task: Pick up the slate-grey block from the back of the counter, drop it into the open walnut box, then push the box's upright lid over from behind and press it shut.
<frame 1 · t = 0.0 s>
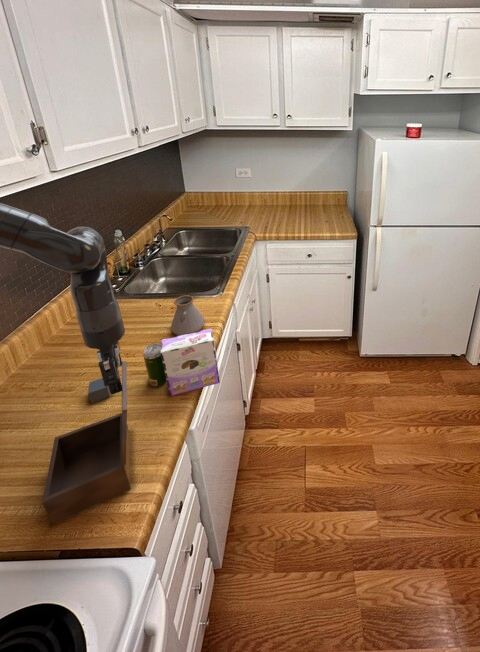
hand: (117, 378, 76), 19 cm above the counter, tool pointing down, fingers open, 8 cm apart
block: (101, 396, 94), on the counter
beer can: (160, 381, 99), on the counter
box: (96, 475, 74), on the counter
coffee pot: (188, 339, 116), on the counter
lid: (124, 410, 72), point 15 cm above the counter, hinge at 100.9°, touching gripper
candy box: (195, 384, 98), on the counter
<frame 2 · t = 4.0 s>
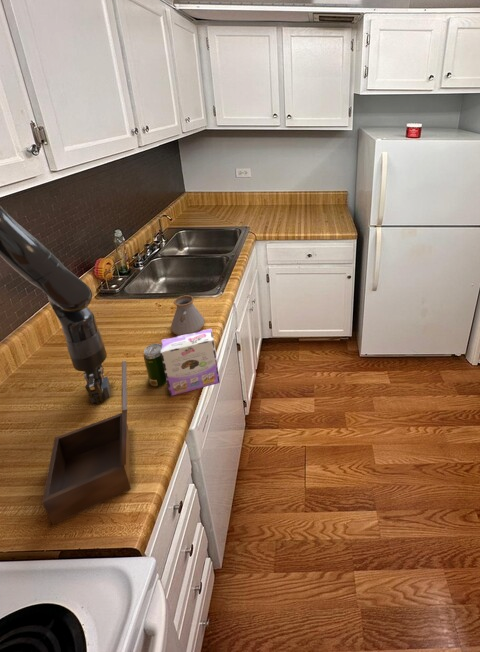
hand: (101, 395, 93), 0 cm above the counter, tool pointing down, fingers closed on block, 4 cm apart
block: (101, 396, 94), on the counter, touching gripper
lid: (124, 410, 72), point 15 cm above the counter, hinge at 100.9°
everything else where it was.
when the fingers open (10 cm above the counter, at t = 11.5 s): block drops 9 cm, resting on box.
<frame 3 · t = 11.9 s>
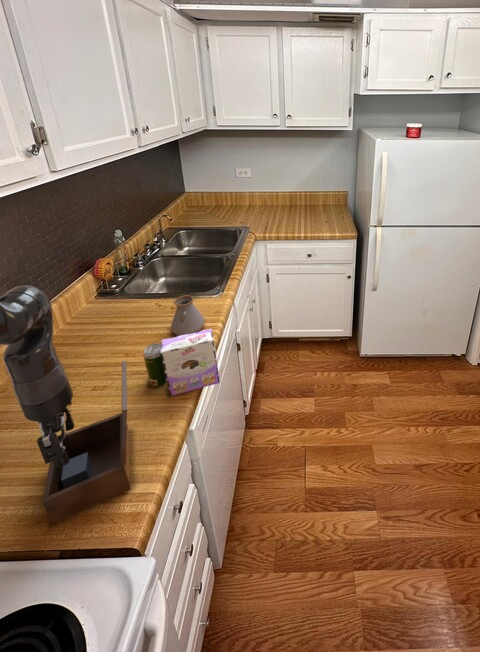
hand: (66, 446, 68), 12 cm above the counter, tool pointing down, fingers open, 8 cm apart
block: (79, 479, 72), point 1 cm above the counter, touching box
everything else where it was.
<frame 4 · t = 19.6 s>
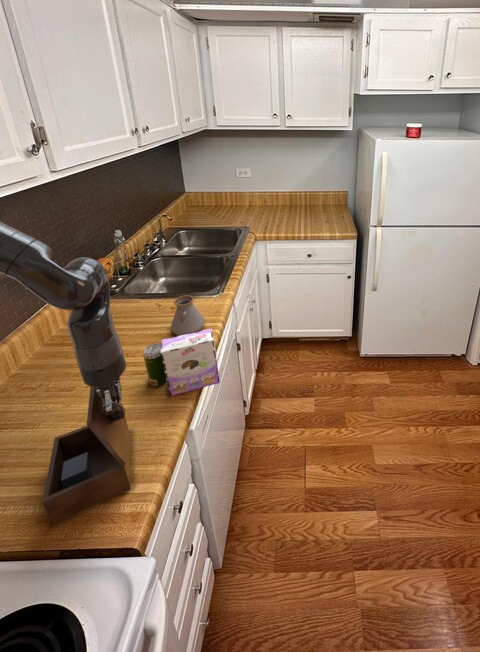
hand: (119, 417, 72), 14 cm above the counter, tool pointing down, fingers closed
lid: (108, 416, 71), point 15 cm above the counter, hinge at 77.2°
everything else where it was.
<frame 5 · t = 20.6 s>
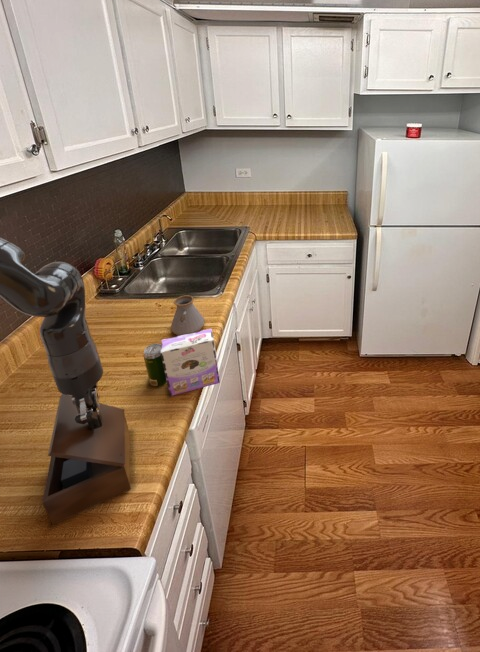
hand: (96, 425, 70), 14 cm above the counter, tool pointing down, fingers closed
lid: (91, 429, 70), point 13 cm above the counter, hinge at 46.2°, touching gripper
everything else where it was.
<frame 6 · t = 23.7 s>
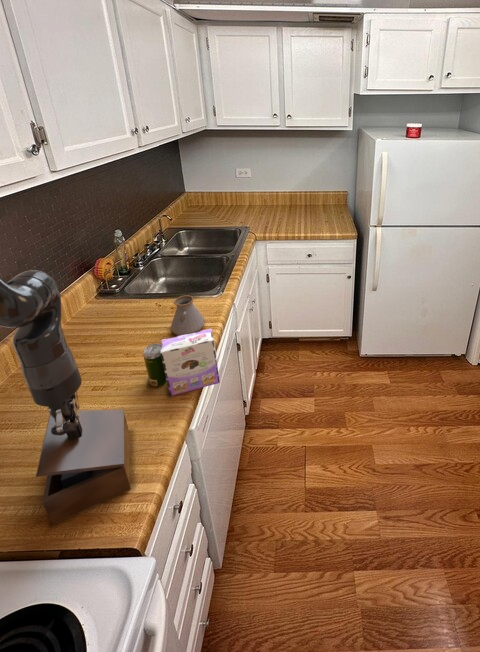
hand: (76, 436, 69), 13 cm above the counter, tool pointing down, fingers closed
lid: (86, 438, 70), point 12 cm above the counter, hinge at 27.4°, touching gripper
everything else where it was.
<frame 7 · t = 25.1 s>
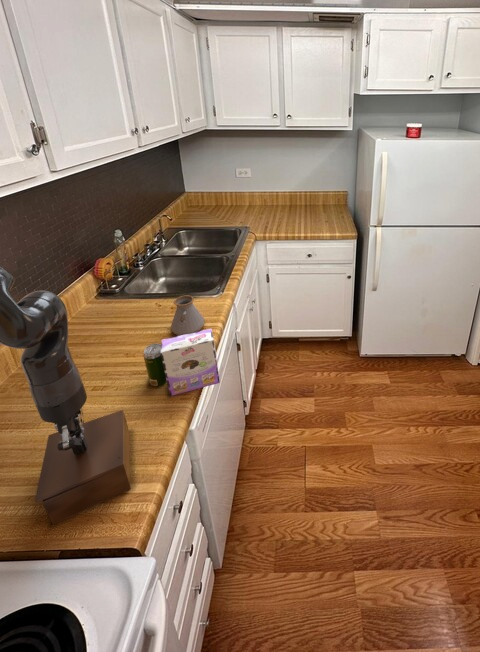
hand: (81, 450, 70), 9 cm above the counter, tool pointing down, fingers closed
lid: (85, 450, 71), point 8 cm above the counter, hinge at 1.7°, touching gripper
everything else where it was.
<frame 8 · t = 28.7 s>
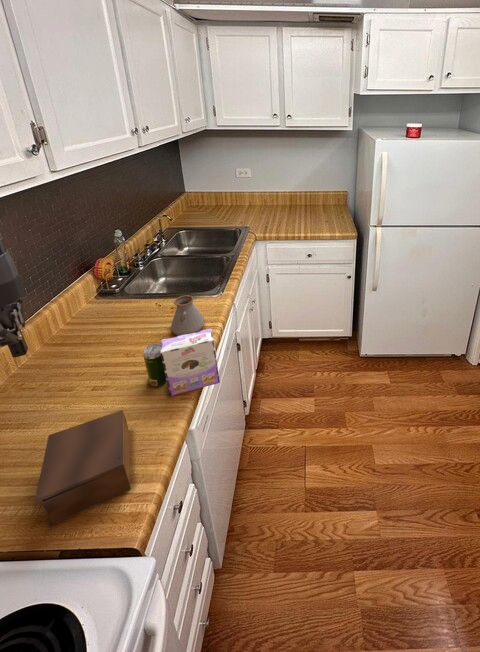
hand: (21, 353, 66), 31 cm above the counter, tool pointing down, fingers closed
lid: (85, 450, 71), point 8 cm above the counter, hinge at 1.7°
everything else where it was.
at the end: block inside the target area in the box (3.0 cm from its centre), point 0.8 cm above the box's base; lid at +2° (first picture: +101°) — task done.
